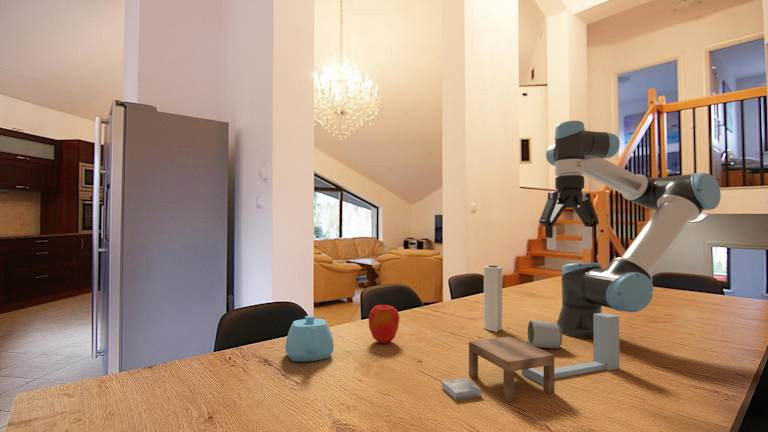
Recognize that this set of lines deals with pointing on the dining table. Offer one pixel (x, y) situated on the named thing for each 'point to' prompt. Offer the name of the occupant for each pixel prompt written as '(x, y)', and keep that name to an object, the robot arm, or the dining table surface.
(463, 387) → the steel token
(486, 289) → the paper towel roll
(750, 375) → the dining table surface
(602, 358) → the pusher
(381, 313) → the apple
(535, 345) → the ceramic mug
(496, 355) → the walnut table
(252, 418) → the dining table surface
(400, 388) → the dining table surface
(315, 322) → the teapot
